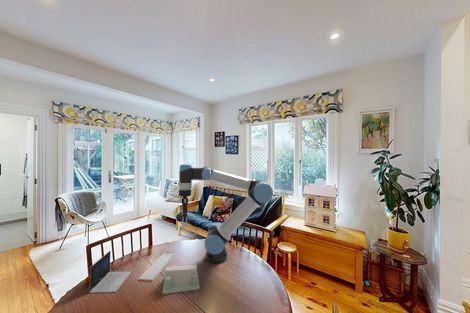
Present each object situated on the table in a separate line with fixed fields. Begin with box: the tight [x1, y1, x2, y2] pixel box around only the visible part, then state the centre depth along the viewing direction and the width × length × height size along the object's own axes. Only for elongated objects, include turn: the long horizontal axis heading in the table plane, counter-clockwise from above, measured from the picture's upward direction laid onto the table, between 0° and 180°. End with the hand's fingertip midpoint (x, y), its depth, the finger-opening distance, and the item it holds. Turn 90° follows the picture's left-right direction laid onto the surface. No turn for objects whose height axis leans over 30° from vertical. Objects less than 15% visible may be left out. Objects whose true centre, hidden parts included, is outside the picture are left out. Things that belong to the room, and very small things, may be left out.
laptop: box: [89, 250, 132, 294], centre depth 107 cm, size 18×12×13 cm
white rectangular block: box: [164, 264, 198, 284], centre depth 107 cm, size 16×4×7 cm, turn 98°
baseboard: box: [137, 250, 175, 282], centre depth 124 cm, size 30×3×10 cm
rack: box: [161, 264, 200, 295], centre depth 107 cm, size 18×14×6 cm
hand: (184, 223), depth 123 cm, fingers open, 13 cm apart
